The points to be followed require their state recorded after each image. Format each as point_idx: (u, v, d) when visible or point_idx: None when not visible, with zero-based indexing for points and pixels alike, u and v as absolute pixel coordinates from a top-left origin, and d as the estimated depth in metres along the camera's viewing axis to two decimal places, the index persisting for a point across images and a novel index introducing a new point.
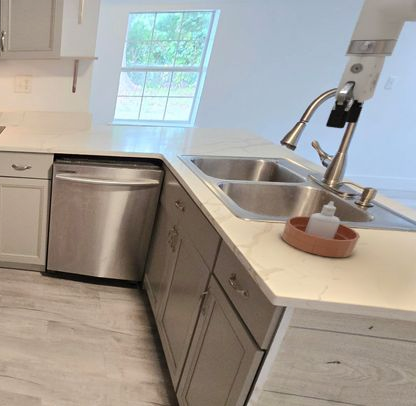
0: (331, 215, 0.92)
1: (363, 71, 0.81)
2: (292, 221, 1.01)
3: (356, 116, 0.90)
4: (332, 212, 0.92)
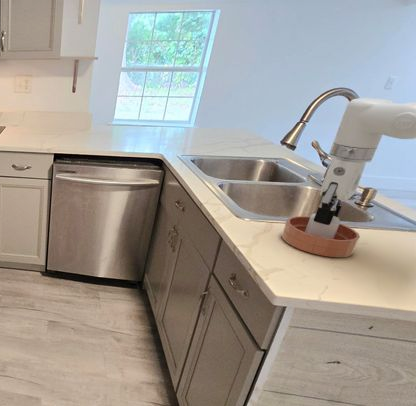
0: None
1: (346, 174, 0.85)
2: (292, 221, 1.01)
3: (335, 215, 0.94)
4: None
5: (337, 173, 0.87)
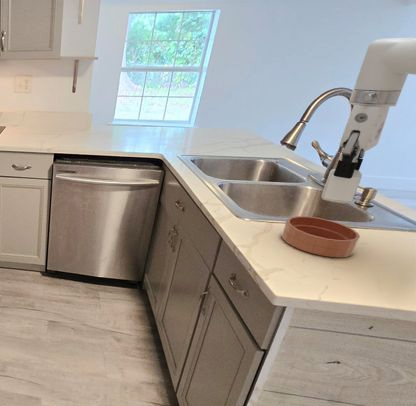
0: None
1: (368, 120, 0.80)
2: (292, 221, 1.01)
3: (357, 168, 0.88)
4: None
5: (359, 120, 0.82)
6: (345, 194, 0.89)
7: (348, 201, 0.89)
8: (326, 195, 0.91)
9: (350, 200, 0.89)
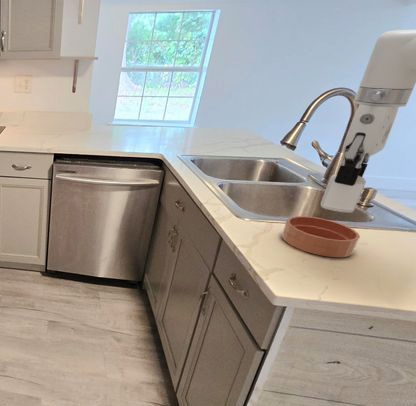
0: None
1: (375, 122, 0.72)
2: (292, 221, 1.01)
3: (360, 174, 0.80)
4: None
5: (364, 122, 0.74)
6: (346, 203, 0.81)
7: (350, 210, 0.81)
8: (326, 203, 0.83)
9: (352, 209, 0.81)
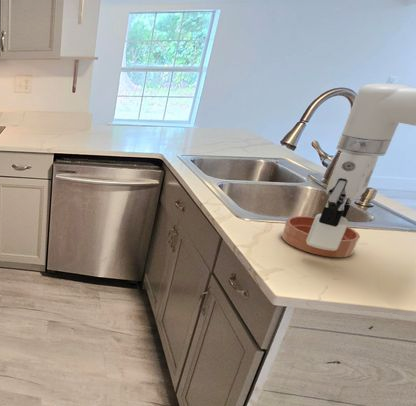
0: None
1: (356, 170, 0.76)
2: (292, 221, 1.01)
3: (343, 215, 0.84)
4: None
5: (346, 168, 0.78)
6: (330, 242, 0.85)
7: (333, 248, 0.85)
8: (311, 241, 0.87)
9: (335, 247, 0.85)
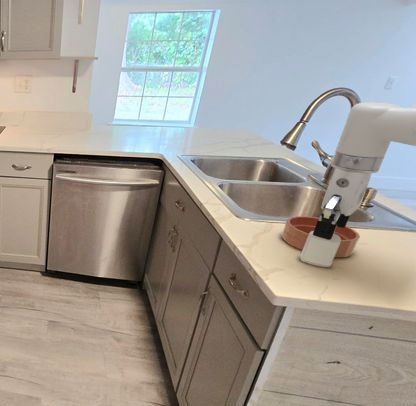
0: None
1: (350, 186, 0.77)
2: (292, 221, 1.01)
3: (344, 222, 0.86)
4: None
5: (340, 185, 0.79)
6: (323, 258, 0.87)
7: (327, 265, 0.87)
8: (305, 258, 0.89)
9: (329, 264, 0.87)
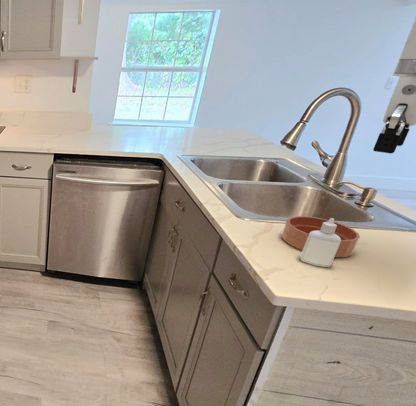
0: (331, 233, 0.85)
1: None
2: (292, 221, 1.01)
3: (402, 139, 0.84)
4: (332, 230, 0.84)
5: (406, 93, 0.76)
6: (323, 258, 0.87)
7: (327, 265, 0.87)
8: (305, 258, 0.89)
9: (329, 264, 0.87)
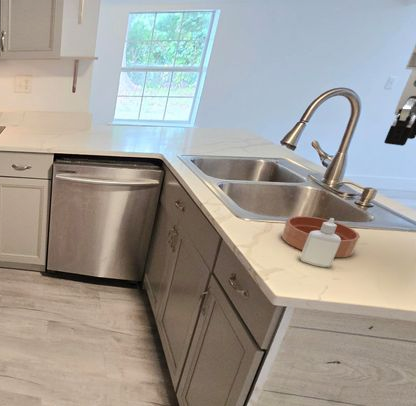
0: (331, 233, 0.85)
1: None
2: (292, 221, 1.01)
3: (414, 132, 0.85)
4: (332, 230, 0.84)
5: None
6: (323, 258, 0.87)
7: (327, 265, 0.87)
8: (305, 258, 0.89)
9: (329, 264, 0.87)
